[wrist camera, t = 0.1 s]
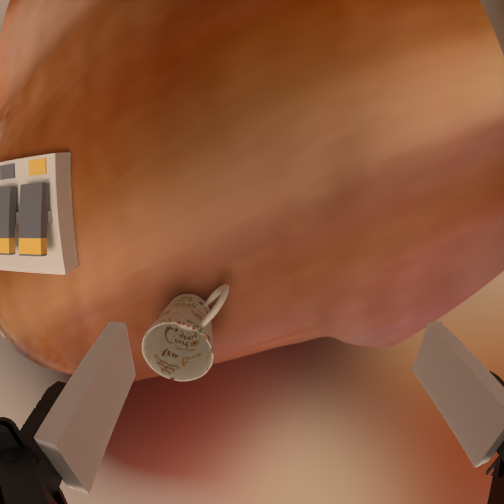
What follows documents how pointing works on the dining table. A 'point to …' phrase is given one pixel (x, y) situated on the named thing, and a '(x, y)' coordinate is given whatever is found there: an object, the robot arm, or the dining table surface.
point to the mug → (183, 337)
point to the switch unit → (58, 212)
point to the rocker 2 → (33, 219)
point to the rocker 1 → (7, 220)
